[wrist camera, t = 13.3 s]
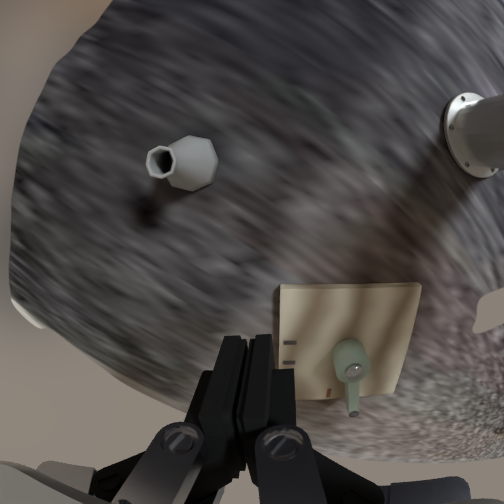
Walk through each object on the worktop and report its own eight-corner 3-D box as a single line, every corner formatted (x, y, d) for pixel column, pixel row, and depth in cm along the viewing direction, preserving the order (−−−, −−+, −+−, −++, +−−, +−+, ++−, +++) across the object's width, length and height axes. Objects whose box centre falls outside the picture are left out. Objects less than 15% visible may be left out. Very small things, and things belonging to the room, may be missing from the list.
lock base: (417, 282, 36) (422, 286, 35) (391, 387, 42) (393, 393, 40) (280, 284, 38) (280, 289, 36) (277, 393, 44) (277, 400, 42)
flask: (221, 189, 35) (199, 197, 26) (167, 193, 36) (130, 203, 26) (217, 132, 33) (194, 119, 24) (163, 139, 34) (125, 132, 24)
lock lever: (330, 342, 38) (335, 363, 33) (363, 335, 37) (372, 356, 32) (335, 402, 41) (339, 423, 36) (363, 396, 40) (369, 417, 36)
